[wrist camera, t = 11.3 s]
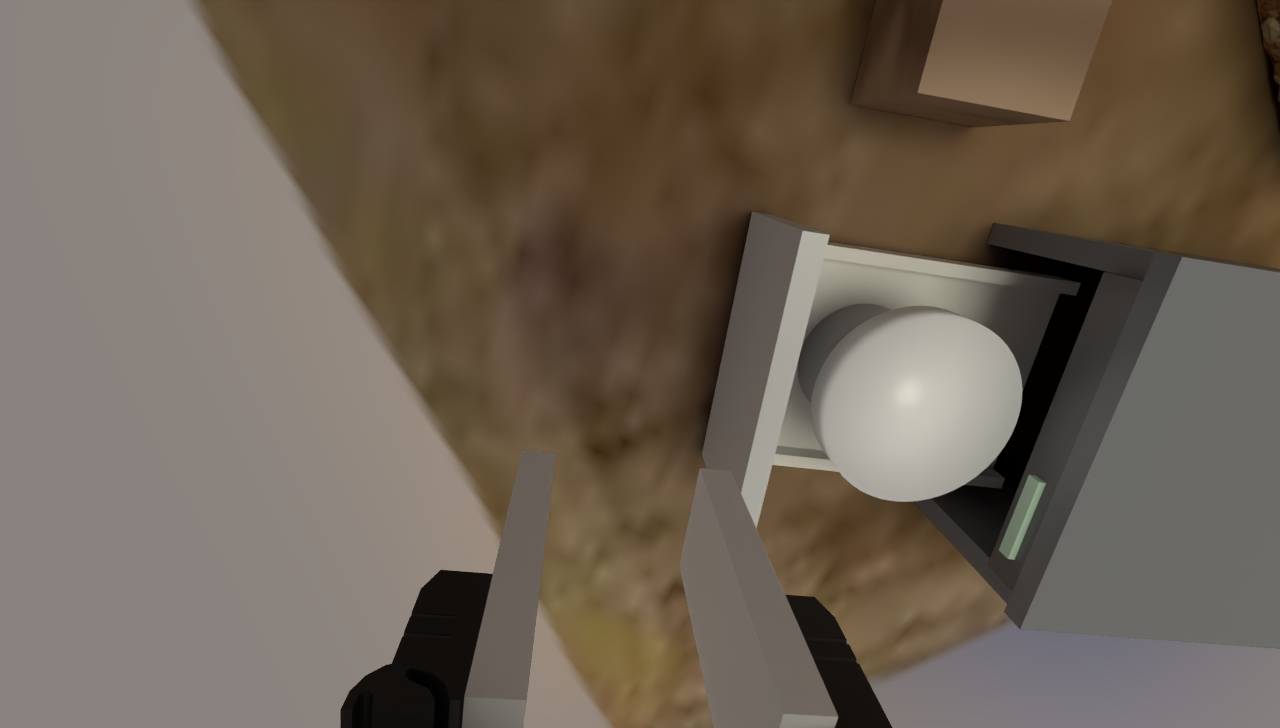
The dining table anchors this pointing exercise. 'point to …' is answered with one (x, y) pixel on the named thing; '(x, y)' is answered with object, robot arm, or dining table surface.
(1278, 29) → the bread
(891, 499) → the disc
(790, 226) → the grey drawer
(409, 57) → the dining table surface
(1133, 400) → the grey drawer cabinet
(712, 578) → the robot arm
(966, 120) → the riser cube
